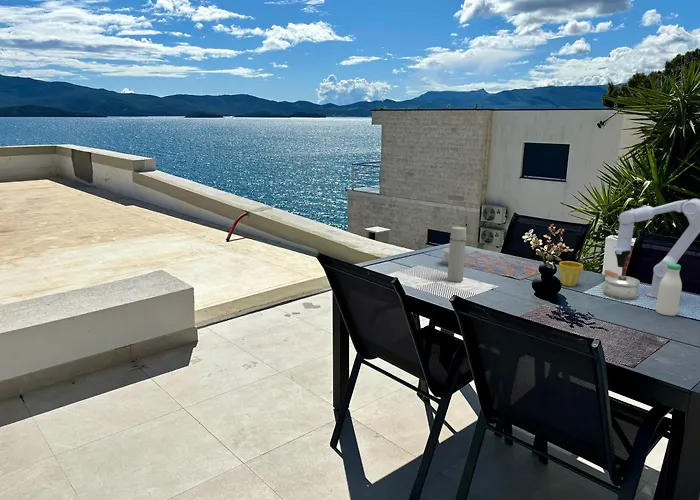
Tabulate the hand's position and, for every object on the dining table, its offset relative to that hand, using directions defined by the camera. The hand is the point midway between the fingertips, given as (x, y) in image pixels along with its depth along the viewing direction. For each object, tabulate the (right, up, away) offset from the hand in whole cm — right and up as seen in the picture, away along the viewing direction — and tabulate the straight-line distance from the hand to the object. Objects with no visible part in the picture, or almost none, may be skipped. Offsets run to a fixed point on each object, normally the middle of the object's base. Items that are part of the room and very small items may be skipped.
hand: (620, 266), depth 247 cm
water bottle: (-73, -7, +8) cm, 74 cm away
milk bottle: (+4, -18, -29) cm, 34 cm away
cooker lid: (-5, -6, -7) cm, 10 cm away
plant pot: (-21, -8, +6) cm, 24 cm away
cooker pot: (-5, -12, -6) cm, 14 cm away
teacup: (-70, 0, +34) cm, 78 cm away
